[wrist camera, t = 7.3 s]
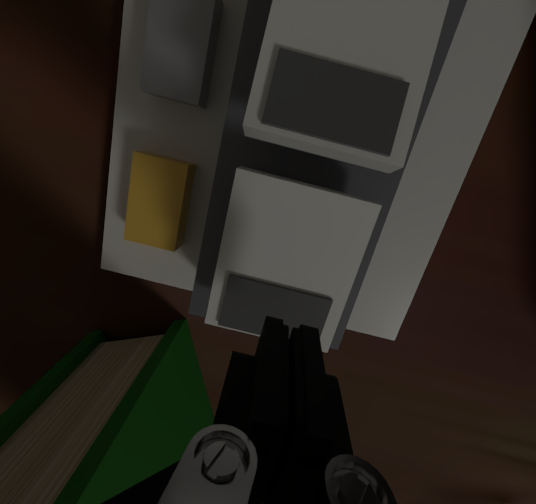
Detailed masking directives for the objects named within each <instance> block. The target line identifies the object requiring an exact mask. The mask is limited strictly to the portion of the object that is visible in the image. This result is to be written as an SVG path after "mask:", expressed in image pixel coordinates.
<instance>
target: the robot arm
mask: <svg viewBox="0 0 536 504" xmlns="http://www.w3.org/2000/svg"><path fill="white" fill-rule="evenodd" d="M262 501H263V504H397V503H396V500H395V498H394V496H393V493H392V491H391V489H390V487H389V485H388V484H387V482H386V480H385V479H384V477H383V476H382V475H381V474H380V473H379V471H378V470H377V469H376V468H374V467H373V466H372V465H371V464H369V463H368V462H367V461H365V460H363V459H361V458H359V457H357V456H353V451H352V446H351V441H350V436H349V431H348V427H347V422H346V417H345V412H344V407H343V402H342V397H341V393H340V388H339V383H338V379H337V378H336V376H332V375H328V374H325V368H324V361H323V355H322V348H321V342H320V336H319V330H318V328H315V327H311V326H307V325H303V324H301V325H300V326H299V328H296V327H293V329H292V331H291V335H290V338H289V326H288V325H284V324H283V319H279V318H275V317H271V316H267V315H266V318H265V321H264V325H263V328H262V332H261V336H260V339H259V343H258V346H257V350H256V353H255V356H251V355H247V354H243V353H239V352H235V351H233V353H232V356H231V360H230V364H229V367H228V371H227V375H226V378H225V382H224V386H223V389H222V393H221V397H220V400H219V404H218V408H217V411H216V415H215V419H214V422H213V425H211V426H208V427H205V428H203V429H202V430H200V431H199V432H198V433H196V434H195V436H194V437H193V438H192V440H191V441H190V442H189V444H188V446H187V448H186V450H185V452H184V454H183V456H182V458H181V460H179V461H177V462H175V463H174V464H172V465H170V466H168V467H166V468H165V469H163V470H161V471H159V472H157V473H155V474H154V475H152V476H150V477H148V478H146V479H144V480H143V481H141V482H139V483H137V484H135V485H134V486H132V487H130V488H128V489H126V490H124V491H123V492H121V493H119V494H117V495H115V496H114V497H112V498H110V499H108V500H106V501H104V502H103V503H101V504H262Z"/></svg>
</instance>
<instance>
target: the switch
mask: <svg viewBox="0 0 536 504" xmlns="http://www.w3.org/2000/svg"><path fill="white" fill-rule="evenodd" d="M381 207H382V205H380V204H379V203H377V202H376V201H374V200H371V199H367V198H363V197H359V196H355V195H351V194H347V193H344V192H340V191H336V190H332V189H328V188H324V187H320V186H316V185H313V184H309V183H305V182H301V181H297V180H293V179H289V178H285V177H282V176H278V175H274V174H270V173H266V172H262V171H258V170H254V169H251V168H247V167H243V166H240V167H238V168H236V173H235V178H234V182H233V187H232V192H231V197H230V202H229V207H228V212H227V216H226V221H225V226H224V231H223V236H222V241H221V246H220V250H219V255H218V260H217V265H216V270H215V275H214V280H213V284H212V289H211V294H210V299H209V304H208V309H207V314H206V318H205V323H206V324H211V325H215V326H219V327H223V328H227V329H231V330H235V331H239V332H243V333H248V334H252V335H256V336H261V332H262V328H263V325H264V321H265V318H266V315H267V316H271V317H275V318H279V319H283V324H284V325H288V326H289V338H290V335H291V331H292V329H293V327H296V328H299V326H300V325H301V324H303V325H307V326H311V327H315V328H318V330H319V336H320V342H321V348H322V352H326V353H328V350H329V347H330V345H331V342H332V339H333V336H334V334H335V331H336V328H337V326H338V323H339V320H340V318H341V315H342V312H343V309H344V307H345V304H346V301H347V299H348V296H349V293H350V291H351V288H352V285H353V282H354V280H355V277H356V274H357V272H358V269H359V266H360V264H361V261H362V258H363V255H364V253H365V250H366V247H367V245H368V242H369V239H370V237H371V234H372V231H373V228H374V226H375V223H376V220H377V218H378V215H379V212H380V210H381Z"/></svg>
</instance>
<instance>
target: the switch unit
mask: <svg viewBox="0 0 536 504" xmlns="http://www.w3.org/2000/svg"><path fill="white" fill-rule="evenodd" d="M272 1H273V0H124V8H123V19H122V31H121V42H120V53H119V65H118V76H117V88H116V99H115V111H114V122H113V133H112V145H111V156H110V168H109V179H108V191H107V202H106V213H105V225H104V236H103V248H102V259H101V269H105V270H109V271H113V272H117V273H121V274H125V275H130V276H134V277H138V278H142V279H146V280H150V281H154V282H158V283H162V284H166V285H170V286H174V287H178V288H182V289H186V290H191V291H193V292H192V297H191V302H190V308H189V314H193V315H197V316H201V317H205V318H206V314H207V309H208V304H209V299H210V294H211V289H212V284H213V280H214V275H215V270H216V265H217V260H218V255H219V250H220V246H221V241H222V236H223V231H224V226H225V221H226V216H227V212H228V207H229V202H230V197H231V192H232V187H233V182H234V178H235V173H236V168H238V167H240V166H243V167H247V168H251V169H254V170H258V171H262V172H266V173H270V174H274V175H278V176H282V177H285V178H289V179H293V180H297V181H301V182H305V183H309V184H313V185H316V186H320V187H324V188H328V189H332V190H336V191H340V192H344V193H347V194H351V195H355V196H359V197H363V198H367V199H371V200H374V201H376V202H377V203H379V204H380V205H382V207H381V210H380V212H379V215H378V218H377V220H376V223H375V226H374V228H373V231H372V234H371V237H370V239H369V242H368V245H367V247H366V250H365V253H364V255H363V258H362V261H361V264H360V266H359V269H358V272H357V274H356V277H355V280H354V282H353V285H352V288H351V291H350V293H349V296H348V299H347V301H346V304H345V307H344V309H343V312H342V315H341V318H340V320H339V323H338V326H337V328H336V331H335V334H334V336H333V339H332V342H331V345H330V347H329V348H332V349H337V350H338V348H339V345H340V343H341V340H342V337H343V334H344V332H345V329H349V330H353V331H357V332H362V333H366V334H370V335H374V336H378V337H382V338H386V339H390V340H395V338H396V336H397V333H398V331H399V329H400V326H401V324H402V322H403V319H404V317H405V315H406V313H407V310H408V308H409V306H410V303H411V301H412V299H413V296H414V294H415V292H416V289H417V287H418V285H419V282H420V280H421V278H422V275H423V273H424V271H425V268H426V266H427V264H428V262H429V259H430V257H431V255H432V252H433V250H434V248H435V245H436V243H437V241H438V238H439V236H440V234H441V231H442V229H443V227H444V224H445V222H446V220H447V217H448V215H449V213H450V211H451V208H452V206H453V204H454V201H455V199H456V197H457V194H458V192H459V190H460V187H461V185H462V183H463V180H464V178H465V176H466V173H467V171H468V169H469V166H470V164H471V162H472V160H473V157H474V155H475V153H476V150H477V148H478V146H479V143H480V141H481V139H482V136H483V134H484V132H485V129H486V127H487V125H488V122H489V120H490V118H491V115H492V113H493V111H494V109H495V106H496V104H497V102H498V99H499V97H500V95H501V92H502V90H503V88H504V85H505V83H506V81H507V78H508V76H509V74H510V71H511V69H512V67H513V64H514V62H515V60H516V58H517V55H518V53H519V51H520V48H521V46H522V44H523V41H524V39H525V37H526V34H527V32H528V30H529V27H530V25H531V23H532V20H533V18H534V16H535V13H536V0H449V4H448V7H447V11H446V15H445V18H444V22H443V25H442V29H441V33H440V36H439V40H438V44H437V47H436V51H435V54H434V58H433V62H432V65H431V69H430V73H429V76H428V80H427V83H426V87H425V91H424V94H423V98H422V102H421V105H420V109H419V112H418V116H417V120H416V123H415V127H414V131H413V134H412V138H411V141H410V145H409V149H408V152H407V156H406V160H405V163H404V167H403V168H401V169H398V170H396V171H394V172H392V173H390V174H389V173H385V172H381V171H377V170H374V169H370V168H366V167H362V166H358V165H354V164H351V163H347V162H343V161H339V160H335V159H331V158H328V157H324V156H320V155H316V154H312V153H308V152H305V151H301V150H297V149H293V148H289V147H285V146H282V145H278V144H274V143H270V142H266V141H262V140H259V139H255V138H251V137H247V136H245V135H244V130H243V121H244V117H245V113H246V109H247V104H248V100H249V96H250V92H251V88H252V84H253V80H254V75H255V71H256V67H257V63H258V59H259V55H260V51H261V46H262V42H263V38H264V34H265V30H266V26H267V22H268V17H269V13H270V9H271V5H272Z"/></svg>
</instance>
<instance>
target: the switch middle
mask: <svg viewBox="0 0 536 504" xmlns="http://www.w3.org/2000/svg"><path fill="white" fill-rule="evenodd" d="M448 4H449V0H273V1H272V5H271V9H270V13H269V17H268V22H267V26H266V30H265V34H264V38H263V42H262V46H261V51H260V55H259V59H258V63H257V67H256V71H255V75H254V80H253V84H252V88H251V92H250V96H249V100H248V104H247V109H246V113H245V117H244V121H243V130H244V135H245V136H247V137H251V138H255V139H259V140H262V141H266V142H270V143H274V144H278V145H282V146H285V147H289V148H293V149H297V150H301V151H305V152H308V153H312V154H316V155H320V156H324V157H328V158H331V159H335V160H339V161H343V162H347V163H351V164H354V165H358V166H362V167H366V168H370V169H374V170H377V171H381V172H385V173H389V174H390V173H392V172H394V171H396V170H398V169H401V168H403V167H404V163H405V160H406V156H407V152H408V149H409V145H410V141H411V138H412V134H413V131H414V127H415V123H416V120H417V116H418V112H419V109H420V105H421V102H422V98H423V94H424V91H425V87H426V83H427V80H428V76H429V73H430V69H431V65H432V62H433V58H434V54H435V51H436V47H437V44H438V40H439V36H440V33H441V29H442V25H443V22H444V18H445V15H446V11H447V7H448Z"/></svg>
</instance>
